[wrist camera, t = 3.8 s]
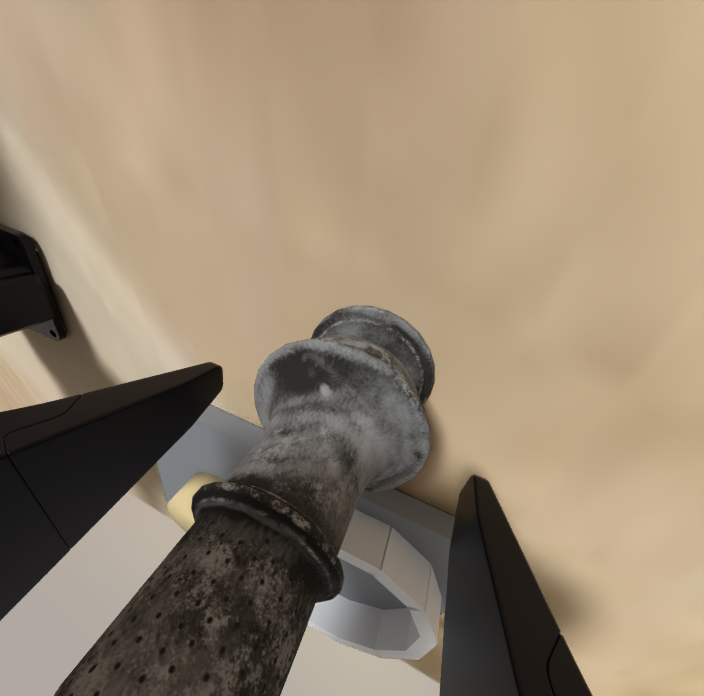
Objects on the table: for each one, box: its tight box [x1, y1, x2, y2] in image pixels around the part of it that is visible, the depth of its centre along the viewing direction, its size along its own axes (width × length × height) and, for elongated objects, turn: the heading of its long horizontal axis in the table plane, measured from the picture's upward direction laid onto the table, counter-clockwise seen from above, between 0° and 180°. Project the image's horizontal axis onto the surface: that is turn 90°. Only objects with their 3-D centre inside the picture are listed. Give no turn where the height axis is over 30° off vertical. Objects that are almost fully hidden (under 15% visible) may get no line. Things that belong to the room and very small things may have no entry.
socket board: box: [157, 405, 455, 660], centre depth 19 cm, size 20×13×3 cm, turn 78°
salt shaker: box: [54, 306, 434, 696], centre depth 8 cm, size 6×6×12 cm
